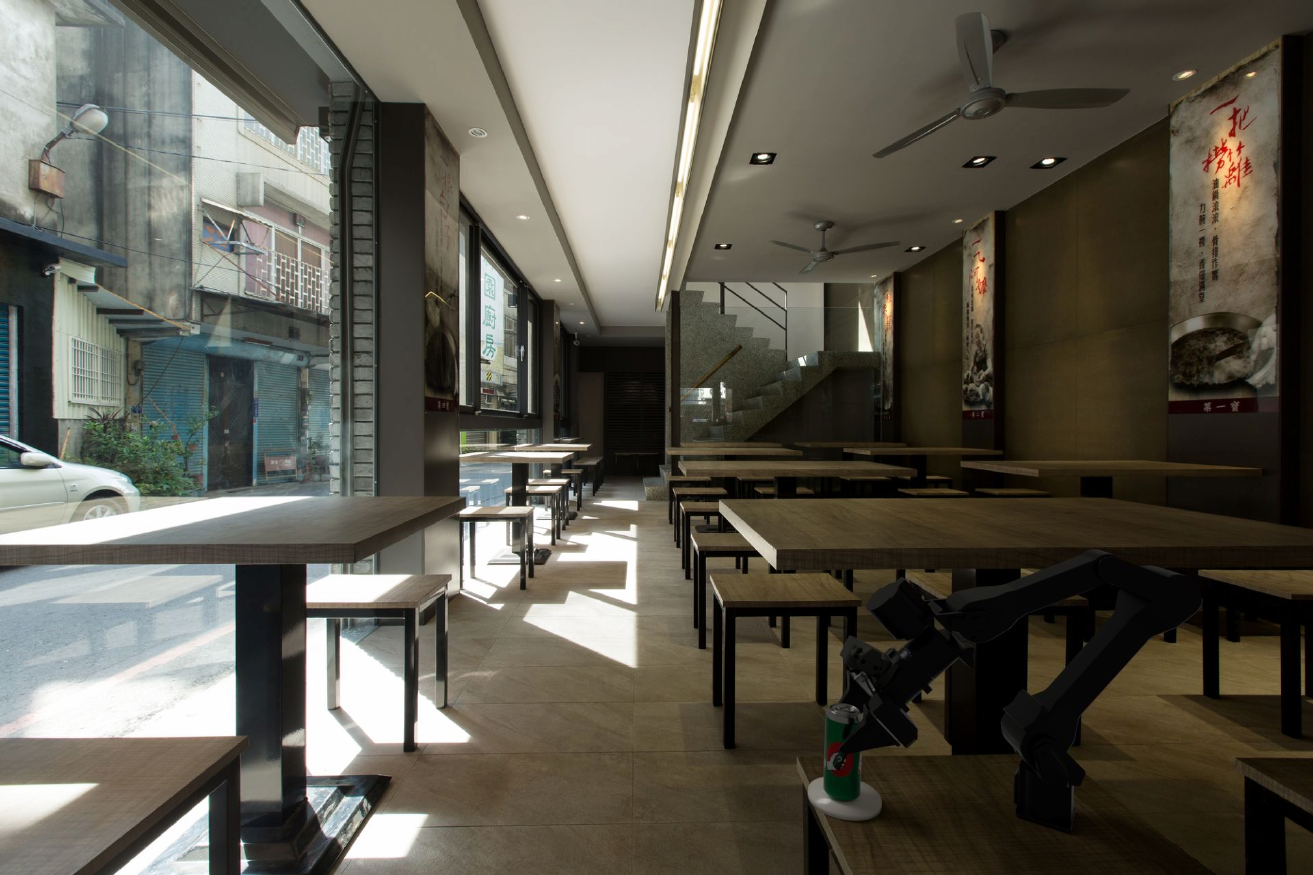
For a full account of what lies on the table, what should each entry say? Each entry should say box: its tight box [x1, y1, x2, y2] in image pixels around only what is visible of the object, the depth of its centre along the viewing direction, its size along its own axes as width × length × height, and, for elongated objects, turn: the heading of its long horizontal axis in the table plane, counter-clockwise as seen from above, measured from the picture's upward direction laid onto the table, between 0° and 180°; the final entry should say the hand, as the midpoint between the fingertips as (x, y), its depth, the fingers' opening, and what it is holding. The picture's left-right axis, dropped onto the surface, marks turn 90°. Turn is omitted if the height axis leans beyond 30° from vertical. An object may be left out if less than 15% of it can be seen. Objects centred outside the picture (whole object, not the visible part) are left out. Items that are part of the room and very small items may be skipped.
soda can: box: [822, 702, 863, 802], centre depth 93 cm, size 5×5×12 cm
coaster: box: [807, 776, 883, 822], centre depth 93 cm, size 10×10×1 cm
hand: (835, 736), depth 93 cm, fingers open, 9 cm apart
